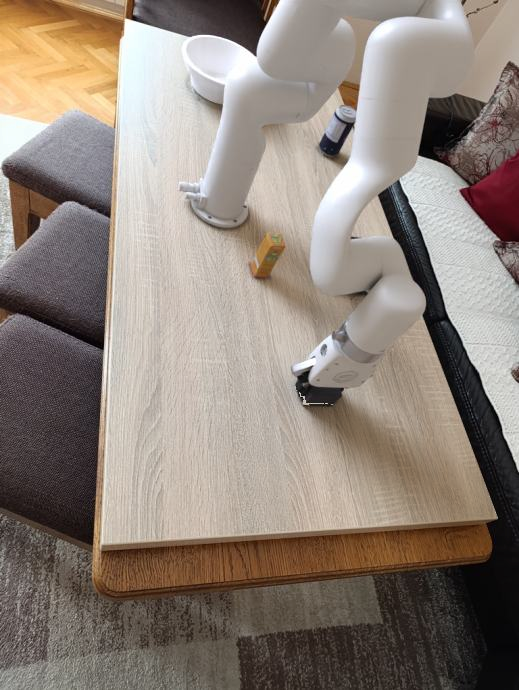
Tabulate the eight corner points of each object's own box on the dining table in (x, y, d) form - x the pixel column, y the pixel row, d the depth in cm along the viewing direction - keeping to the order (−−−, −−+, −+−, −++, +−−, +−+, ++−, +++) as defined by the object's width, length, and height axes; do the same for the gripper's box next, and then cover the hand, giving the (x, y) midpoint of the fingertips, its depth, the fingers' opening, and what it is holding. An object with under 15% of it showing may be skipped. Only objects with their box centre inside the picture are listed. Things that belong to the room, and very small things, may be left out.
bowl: (210, 123, 123) (218, 93, 116) (159, 71, 128) (164, 38, 121) (269, 108, 135) (280, 80, 128) (221, 60, 139) (229, 31, 133)
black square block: (302, 406, 89) (312, 395, 85) (297, 377, 92) (306, 365, 88) (331, 406, 91) (342, 396, 87) (325, 378, 94) (336, 366, 90)
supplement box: (254, 278, 101) (270, 245, 93) (250, 265, 103) (265, 231, 95) (269, 278, 102) (286, 245, 94) (264, 265, 104) (281, 231, 96)
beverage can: (337, 161, 132) (359, 121, 122) (318, 154, 131) (338, 114, 121) (336, 147, 135) (357, 108, 125) (317, 141, 134) (336, 100, 124)
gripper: (315, 358, 72) (273, 409, 86) (416, 363, 78) (361, 410, 92) (306, 314, 76) (268, 371, 90) (403, 322, 81) (352, 374, 96)
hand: (315, 390), depth 91 cm, fingers closed on black square block, 5 cm apart
